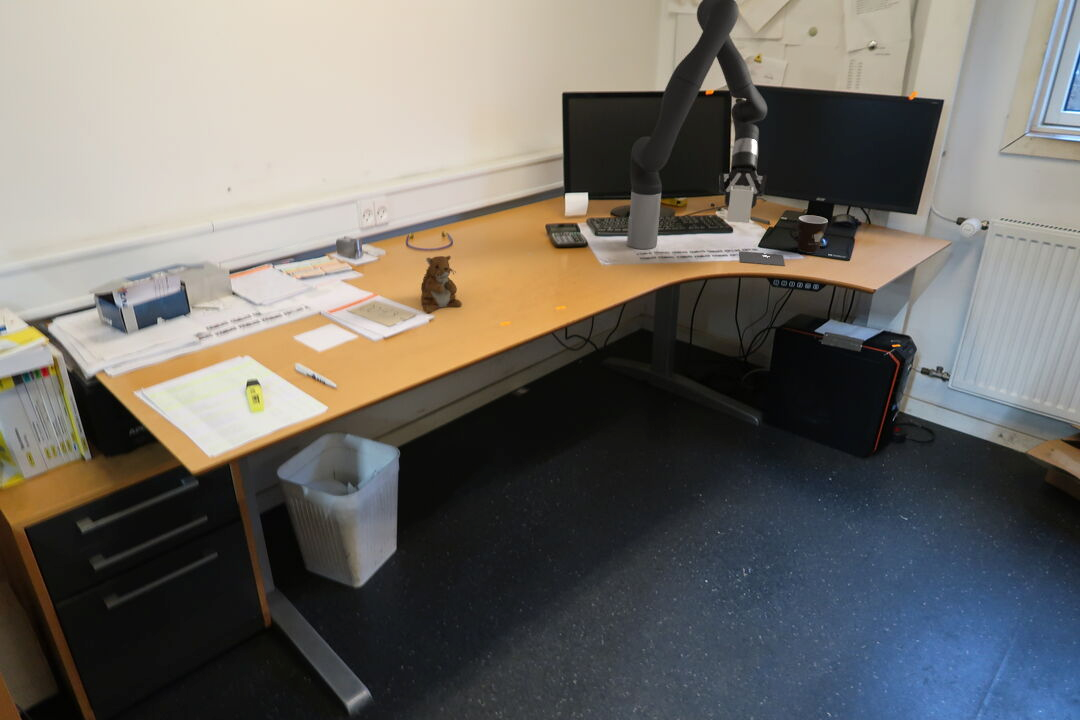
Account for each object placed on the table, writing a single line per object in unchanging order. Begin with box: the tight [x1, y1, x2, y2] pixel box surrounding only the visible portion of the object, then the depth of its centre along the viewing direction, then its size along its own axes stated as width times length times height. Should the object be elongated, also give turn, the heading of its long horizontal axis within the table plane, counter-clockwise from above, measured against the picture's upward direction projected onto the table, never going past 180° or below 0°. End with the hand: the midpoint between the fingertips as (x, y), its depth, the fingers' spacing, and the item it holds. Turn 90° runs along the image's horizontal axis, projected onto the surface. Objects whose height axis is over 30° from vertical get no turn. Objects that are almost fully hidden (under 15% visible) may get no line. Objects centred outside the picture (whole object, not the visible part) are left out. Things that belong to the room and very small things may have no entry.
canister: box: [726, 185, 754, 224], centre depth 221 cm, size 6×6×10 cm
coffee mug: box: [789, 214, 829, 252], centre depth 233 cm, size 12×9×10 cm
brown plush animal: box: [420, 255, 463, 314], centre depth 191 cm, size 10×14×13 cm
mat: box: [739, 250, 786, 267], centre depth 227 cm, size 13×10×1 cm
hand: (740, 206), depth 220 cm, fingers closed on canister, 6 cm apart
